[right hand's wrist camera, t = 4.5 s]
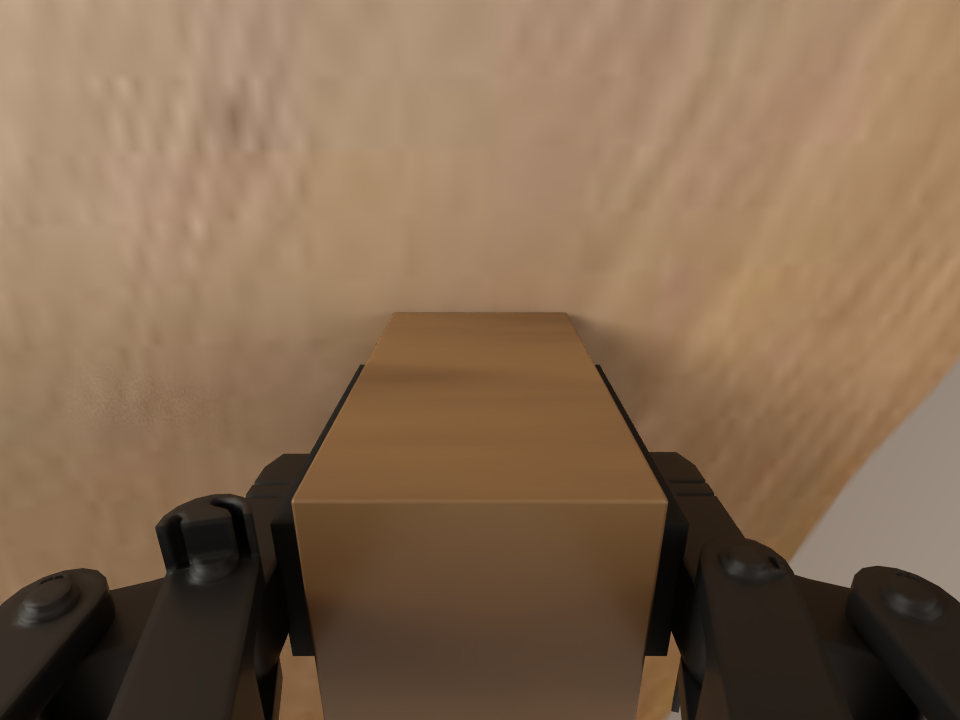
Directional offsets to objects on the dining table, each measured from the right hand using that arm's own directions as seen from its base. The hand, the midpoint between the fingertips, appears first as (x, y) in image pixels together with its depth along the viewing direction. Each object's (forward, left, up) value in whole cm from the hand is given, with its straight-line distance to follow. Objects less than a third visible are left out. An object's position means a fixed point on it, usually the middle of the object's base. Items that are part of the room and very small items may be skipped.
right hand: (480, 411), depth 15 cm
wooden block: (0, 0, -1) cm, 1 cm away
